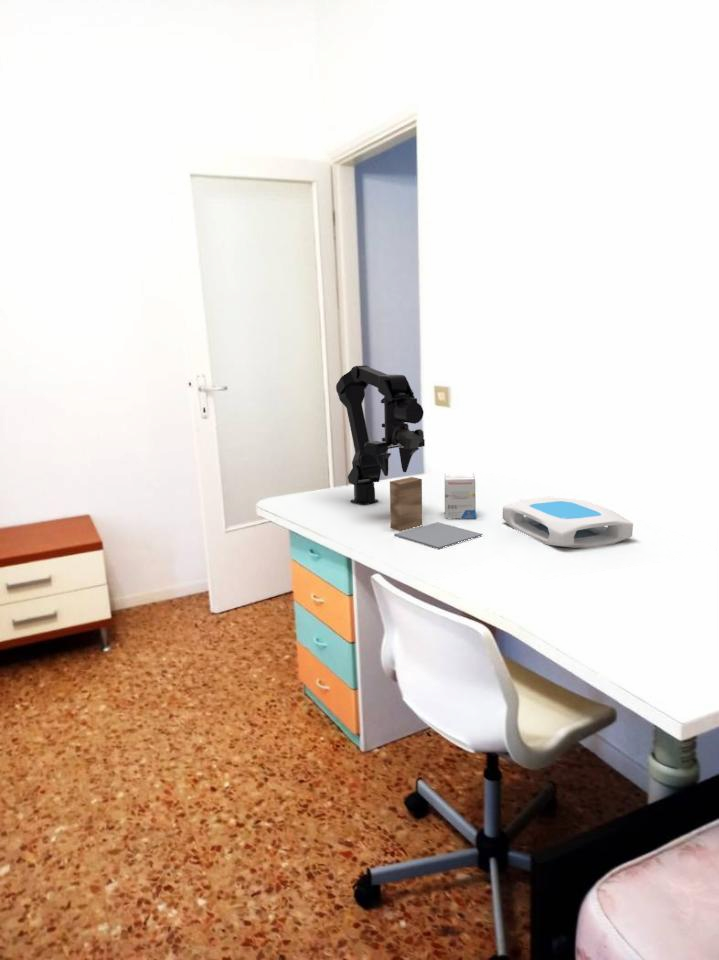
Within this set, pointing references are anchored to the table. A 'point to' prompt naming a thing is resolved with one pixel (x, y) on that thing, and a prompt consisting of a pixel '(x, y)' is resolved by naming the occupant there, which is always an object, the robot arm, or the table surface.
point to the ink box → (460, 495)
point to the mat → (437, 535)
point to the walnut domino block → (406, 503)
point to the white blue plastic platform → (567, 521)
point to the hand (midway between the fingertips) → (395, 473)
